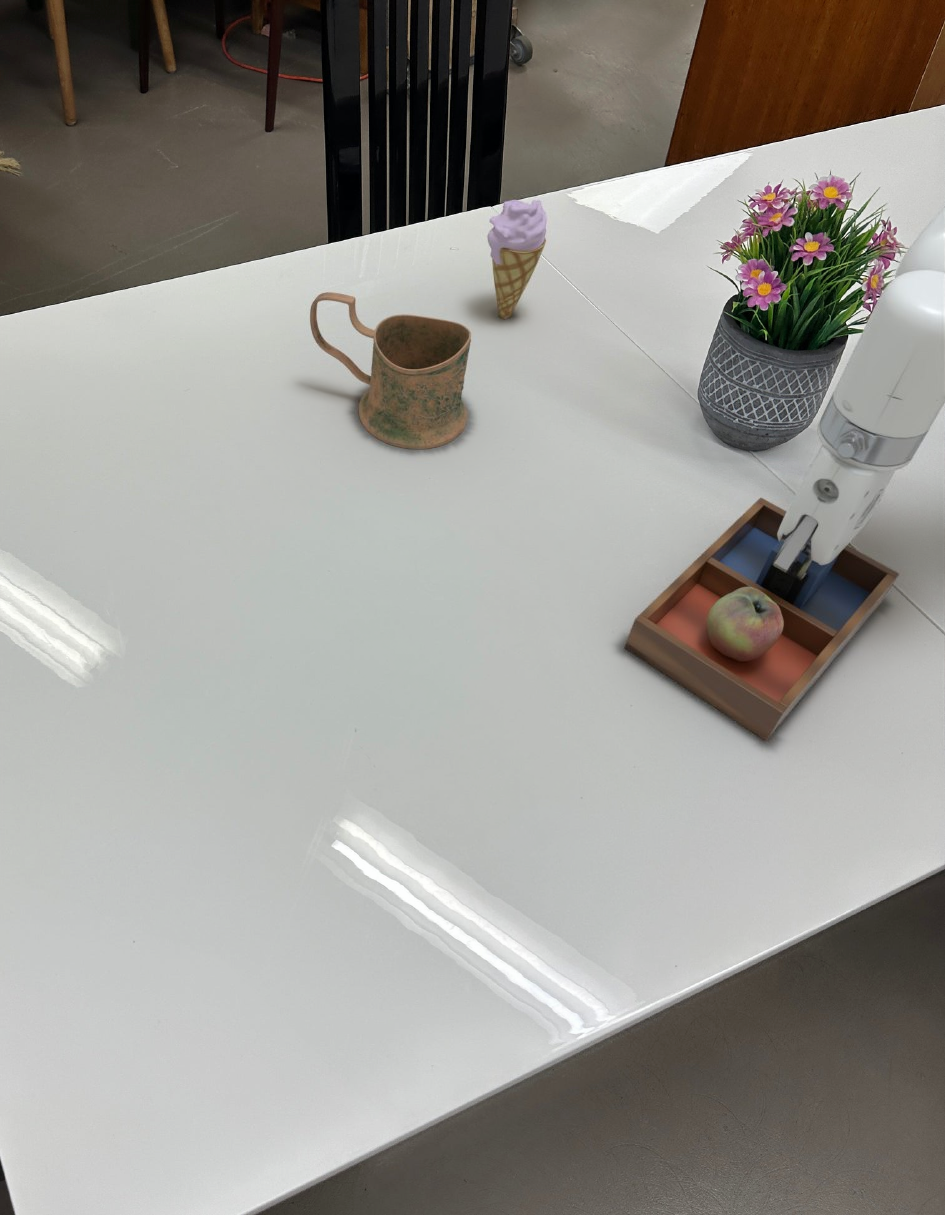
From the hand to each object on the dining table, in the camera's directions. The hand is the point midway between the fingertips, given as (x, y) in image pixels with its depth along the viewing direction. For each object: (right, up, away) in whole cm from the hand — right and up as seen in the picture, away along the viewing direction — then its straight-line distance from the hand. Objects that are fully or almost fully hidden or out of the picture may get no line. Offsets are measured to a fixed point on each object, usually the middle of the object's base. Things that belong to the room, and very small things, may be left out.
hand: (790, 581), depth 99 cm
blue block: (0, 0, 0) cm, 0 cm away
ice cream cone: (-22, +32, +30) cm, 49 cm away
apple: (-7, -6, -5) cm, 11 cm away
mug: (-36, +19, +17) cm, 44 cm away
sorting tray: (-4, -4, -1) cm, 5 cm away
